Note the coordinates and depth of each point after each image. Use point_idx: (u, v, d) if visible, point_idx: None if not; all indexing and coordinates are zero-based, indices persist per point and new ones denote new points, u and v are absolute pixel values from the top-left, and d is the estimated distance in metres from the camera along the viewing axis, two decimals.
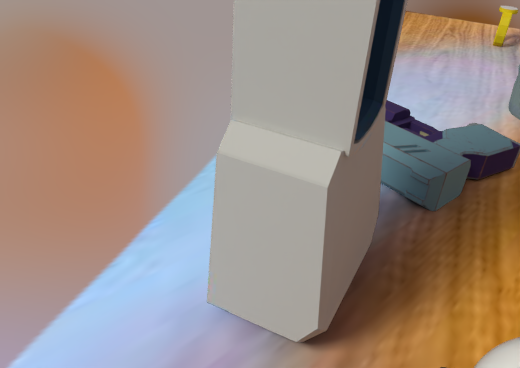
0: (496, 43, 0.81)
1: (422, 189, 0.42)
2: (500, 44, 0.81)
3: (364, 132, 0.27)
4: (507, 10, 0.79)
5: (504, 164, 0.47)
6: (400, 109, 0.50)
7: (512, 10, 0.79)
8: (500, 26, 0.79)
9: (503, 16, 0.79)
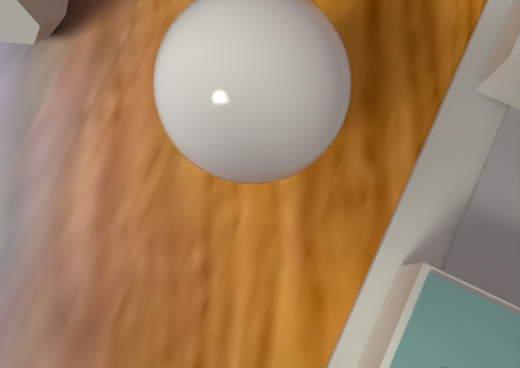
0: None
1: None
2: None
3: None
4: None
5: None
6: None
7: None
8: None
9: None
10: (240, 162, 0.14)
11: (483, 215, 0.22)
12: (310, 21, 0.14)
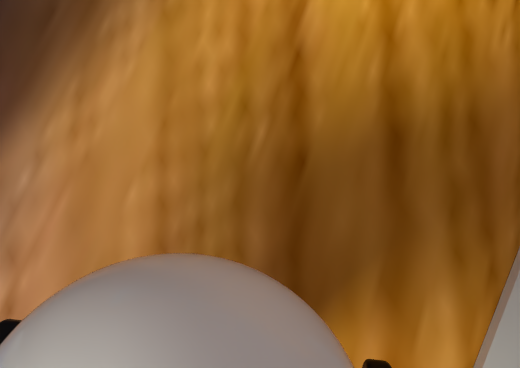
0: None
1: None
2: None
3: None
4: None
5: None
6: None
7: None
8: None
9: None
10: None
11: None
12: None
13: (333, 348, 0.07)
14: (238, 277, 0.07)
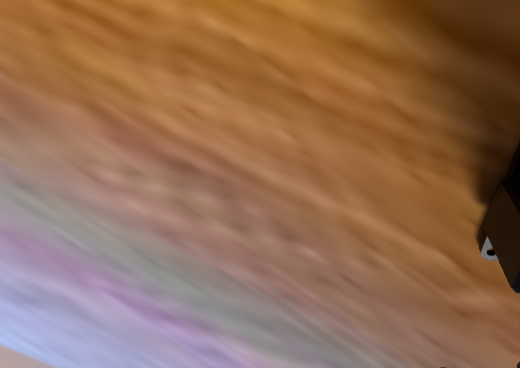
0: None
1: None
2: None
3: None
4: None
5: None
6: None
7: None
8: None
9: None
10: None
11: None
12: None
13: None
14: None
